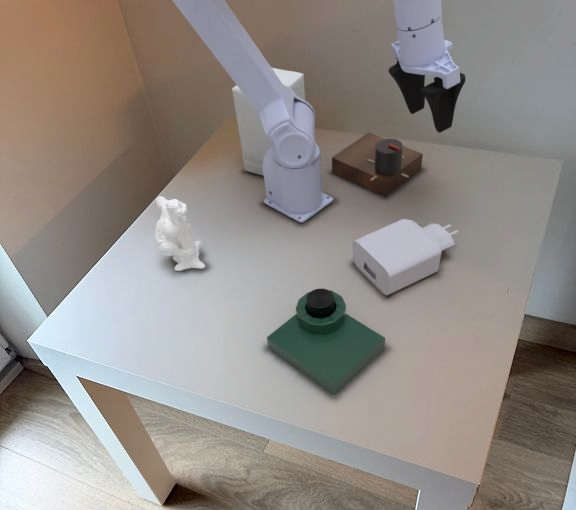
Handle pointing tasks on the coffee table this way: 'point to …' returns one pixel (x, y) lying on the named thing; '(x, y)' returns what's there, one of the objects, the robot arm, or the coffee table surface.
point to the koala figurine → (176, 235)
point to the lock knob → (388, 157)
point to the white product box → (259, 121)
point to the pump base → (326, 344)
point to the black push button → (320, 303)
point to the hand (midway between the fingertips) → (430, 119)
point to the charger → (401, 253)
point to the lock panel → (373, 165)
